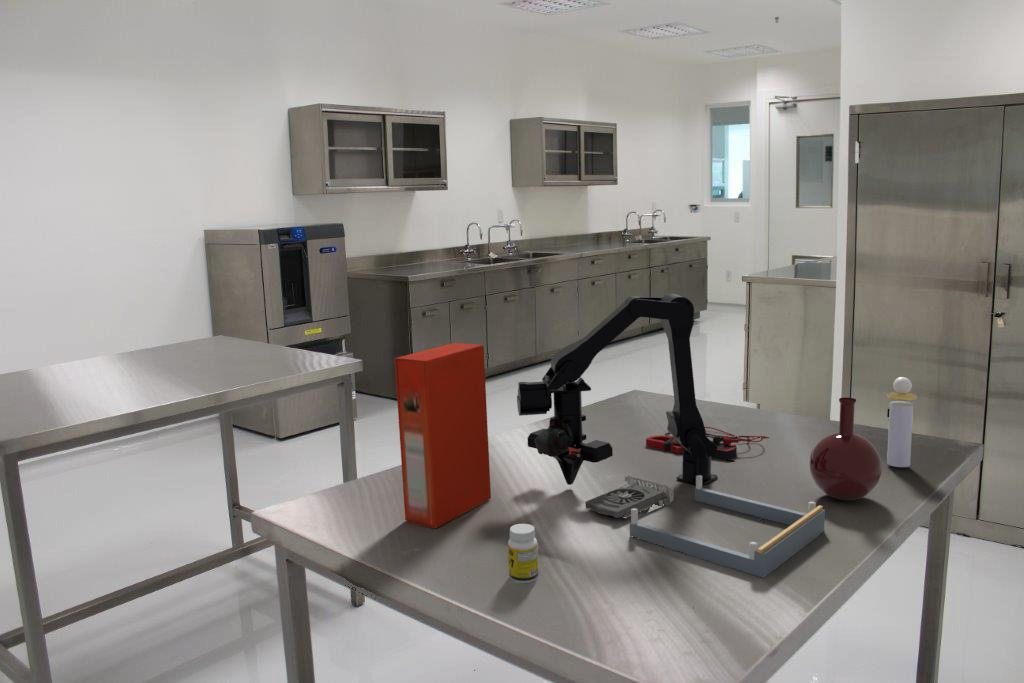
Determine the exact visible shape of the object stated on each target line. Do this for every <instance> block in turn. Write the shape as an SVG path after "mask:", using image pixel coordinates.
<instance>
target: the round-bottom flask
mask: <svg viewBox="0 0 1024 683" xmlns="http://www.w3.org/2000/svg"><path fill="white" fill-rule="evenodd" d="M838 402H839V423H838V424H839V425H838V428H839V429H838V431H837V432H836V431H835V432H833V433H830V434H828V435H827V434H826V436H823V437H822V438H821V439H820V440H819V441H818V442H817V443H816V444H815V445H814V447H813V448H812V450H811V452H810V456H809V459H808V468H809V473H810V476H811V479H812V480H813V482H814V483H815V485H816V487H817V488H818V489H819V490H820V491H822V493H824V494H825V495H826V496H829V497H830V498H834V499H836V500H841V501H855V500H858V499H862V498H864V497H866V496H867V495H869V494H870V493H871V492H873V490H875V488H876V487H877V486H878V484H879V482H880V480H881V477H882V474H883V473H882V471H883V465H882V459H881V456H880V453H879V451H878V450H877V448H876V447H875V446H874V445H873V443H872V442H871V441H869V440H868V439H867V438H865V437H864V436H862V435H859V434H858V433H855V432H854V430H855V407H856V403H857V399H856V398H854V397H840V398H839V399H838Z"/></svg>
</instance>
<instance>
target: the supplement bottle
mask: <svg viewBox="0 0 1024 683" xmlns="http://www.w3.org/2000/svg"><path fill="white" fill-rule="evenodd" d="M507 552H508V553H507V554H508V555H507V556H508V576H509V578H510V579H509V580H511V581H512V582H514V583H517V584H528V583H533V582H535V581H536V580H537V579H538V578H539V555H538V554H539V551H538V541H537V538H536V533H535V526H534V525H531V524H528V523H518V524H514V525H511V526H510V528H509V539H508V542H507Z"/></svg>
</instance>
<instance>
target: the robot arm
mask: <svg viewBox="0 0 1024 683" xmlns="http://www.w3.org/2000/svg"><path fill="white" fill-rule="evenodd" d="M639 318H651V319H657V320H660V324H661V326H662V328H663V331H664V333H665V335H666V337H667V344H668V351H669V352H668V353H669V359H670V360H669V362H670V363H669V364H670V371H671V381H672V382H671V383H672V390H673V400H674V401H673V402H674V403H673V408H672V411H666V412H665V414H666V418H667V427H666V429H668V430H669V431H670V432H669V431H668V430H667V431H668V432H669V433H671V436H673V437H674V438H675V439H676V440H677V441H678V442H679V443H680V445H681V446H682V447H683V448H684V450H683V453H682V466H681V467H682V473H681V474H679V475H677V476H676V480H678V481H681V482H686V483H690V484H694V485H696V476H697V475H701V476H702V486H705V485H706V484H709V483H710V482H712V481H714V480H716V479H718V475H717V474H713V473H712V458H711V457H713V456H715V453H716V451H717V446H716V445H715V444H714V443H713V442H711V441H712V440H710V439H709V437H706V433H707V432H706V428H705V427H706V426H705V423H704V420H703V418H702V415H701V413H700V410H699V408H698V405H697V401H696V393H695V392H696V391H695V380H694V372H693V361H692V350H691V336H692V332H693V328H694V320H695V306H694V304H693V302H692V301H691V300H690V299H688V298H687V297H685V296H681V295H679V294H675V293H668V294H665V295H664V296H662V297H658V296H636V295H630V296H628V297H627V298H625V300H624V302H622V304H620V305H619V306H618V307H617V308H616V309H615V310H614V311H613V312H611V313H610V314H609V315H608V316H607V317H606V318H604V319H603V320H602V321H601V322H599V324H597V325H596V326H595V327H594V328H593V329H592V330H591V331H590V332H588V333H587V334H586V335H585V336H583V337H582V338H581V339H579V340H576V341H575V342H573V343H570V344H568V345H566V346H565V347H563V348H562V349H559V350H558V351H557V352H555V353H554V354H553V355H552V358H550V359H551V360H550V367H549V368H548V370H547V371H546V373H544V375H543V377H542V379H541V381H531V382H529V381H520V382H518V383H517V384H518V389H517V395H516V403H517V412H518V415H519V416H534V415H535V416H536V415H537V416H538V415H547V412H550V410H552V408H553V416H551V417H550V420H549V424H548V425H549V426H548V427H547V428H541V429H538V430H536V431H533V432H531V433H529V434H528V436H527V448H533V449H535V450H537V453H538V454H539V455H545V456H548V457H552V458H554V459H555V460H556V462H557V463H558V465H559V468H560V470H561V473H562V475H563V478H564V481H565V483H566V485H568V486H571V485H573V484H574V483H575V480H576V478H577V475H578V473H579V470H580V469H581V467H582V465H583V463H584V462H585V461H586V462H589V463H594V464H595V463H599V462H601V461H603V460H606V459H608V458H611V457H613V456H614V455H613V454H614V452H613V446H612V444H611V443H610V442H607V441H602V440H598V439H595V440H592V441H589V442H587V443H586V442H583V441H586V440H587V434H584V433H583V422H584V421H586V420H587V417H586V416H587V415H585V414H583V408H582V407H583V405H582V401H583V400H582V392H590V391H591V390H592V387H591V386H590V385H589V384H588V382H587V383H586V381H585V380H584V379H583V377H582V376H583V374H584V373H585V372H586V371H587V370H588V369H589V367H590V365H591V364H592V362H593V360H594V359H595V358H596V356H597V355H598V354H599V353H600V352H601V351H603V349H604V348H605V347H607V346H608V345H609V344H610V343H612V341H615V339H616V338H617V337H618V336H619V335H621V334H622V333H623V332H624V331H625V330H626V329H627V328H628V327H630V326H632V324H634V323H635V322H636V321H637V320H638V319H639ZM552 394H553V397H552ZM552 398H553V400H552Z"/></svg>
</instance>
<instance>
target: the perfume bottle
mask: <svg viewBox="0 0 1024 683" xmlns="http://www.w3.org/2000/svg"><path fill="white" fill-rule="evenodd" d="M892 387H893V391H890V392H887V394H886V396H887V398H888V399H891V400H894V401H891V402H889V408H887V414H886V418H887V420H888V432H887V433H888V434H887V435H888V436H887V449H886V450H887V453H886V454H887V455H886V464H887V465H888V466H892V467H895V468H896V467H897V468H908V467H910V466H911V453H912V436H913V435H912V434H913V418H914V417H913V416H914V403H912V402H910V401H916V400H917V399H918V395H917V394H916V393H913V392H911V390H912V388H913V383H912V380H910V379H909V378H908V377H904V376H900V377H897V378H896V379H895V380H894V381H893V384H892Z"/></svg>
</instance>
